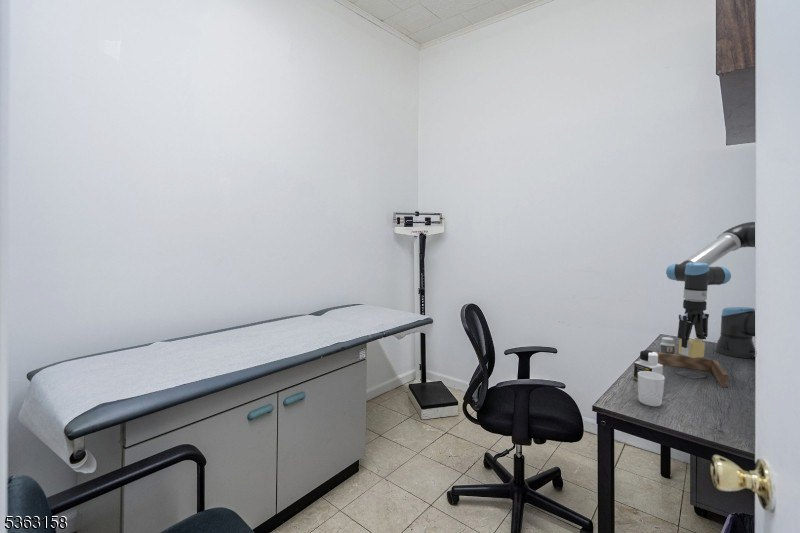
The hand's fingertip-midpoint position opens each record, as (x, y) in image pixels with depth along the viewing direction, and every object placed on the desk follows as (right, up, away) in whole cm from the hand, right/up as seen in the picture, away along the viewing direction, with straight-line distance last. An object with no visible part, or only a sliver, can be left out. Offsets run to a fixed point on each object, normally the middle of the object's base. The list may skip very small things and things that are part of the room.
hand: (691, 354), depth 153 cm
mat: (0, -9, +1) cm, 9 cm away
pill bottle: (+5, -7, +21) cm, 23 cm away
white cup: (-34, -12, -23) cm, 43 cm away
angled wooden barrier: (0, -9, +2) cm, 9 cm away
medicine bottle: (-21, -10, -4) cm, 24 cm away
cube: (0, 0, 0) cm, 0 cm away
